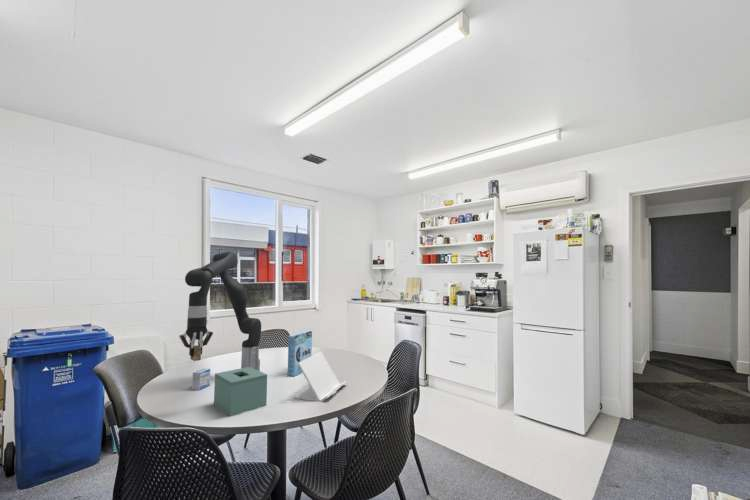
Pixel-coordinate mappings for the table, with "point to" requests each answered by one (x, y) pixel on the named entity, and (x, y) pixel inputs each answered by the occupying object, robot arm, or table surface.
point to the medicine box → (201, 379)
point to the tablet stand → (318, 379)
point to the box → (240, 390)
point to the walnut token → (196, 353)
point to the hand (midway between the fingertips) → (195, 356)
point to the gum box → (298, 351)
